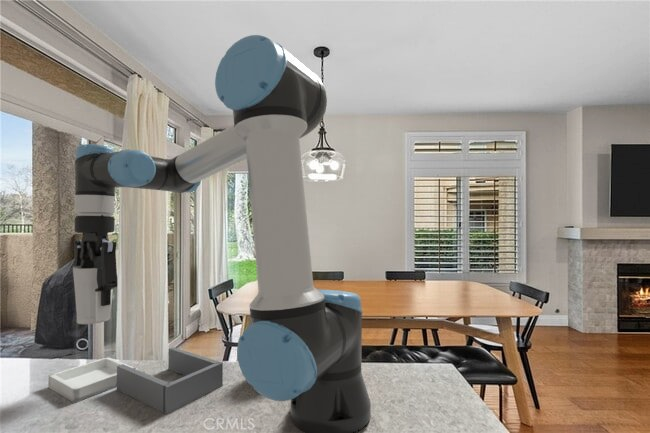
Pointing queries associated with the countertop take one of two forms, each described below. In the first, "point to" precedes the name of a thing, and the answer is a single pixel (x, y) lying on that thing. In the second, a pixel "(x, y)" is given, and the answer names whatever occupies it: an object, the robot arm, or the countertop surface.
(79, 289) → the cup
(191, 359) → the box
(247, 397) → the countertop surface
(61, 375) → the tray
